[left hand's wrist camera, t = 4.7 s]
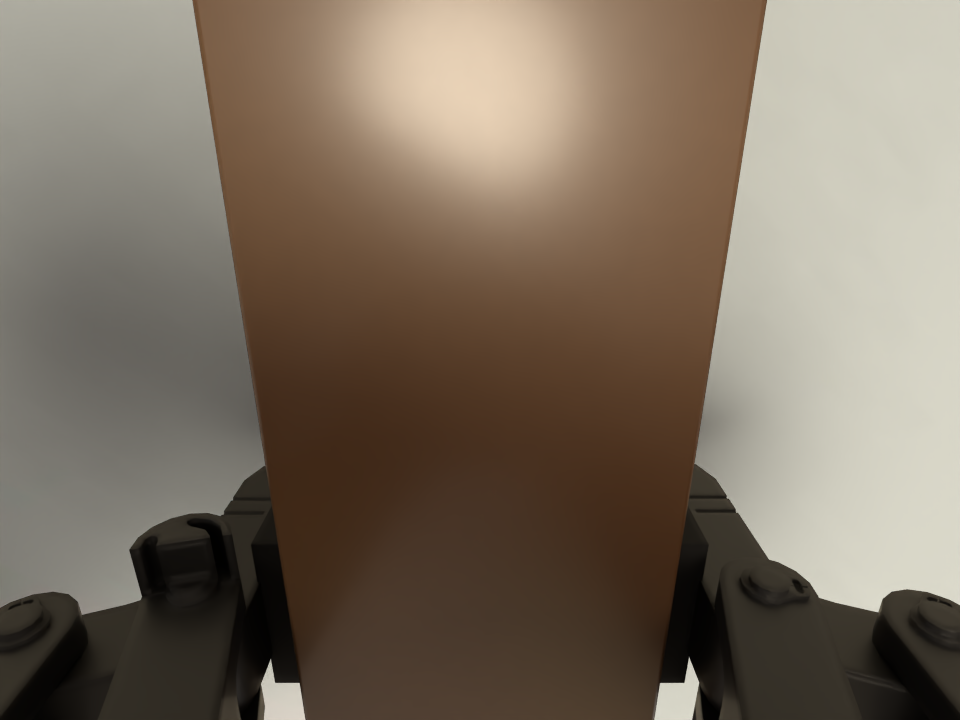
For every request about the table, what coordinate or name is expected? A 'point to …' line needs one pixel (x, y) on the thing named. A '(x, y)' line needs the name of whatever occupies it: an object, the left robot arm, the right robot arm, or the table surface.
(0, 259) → the table surface
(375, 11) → the beam
